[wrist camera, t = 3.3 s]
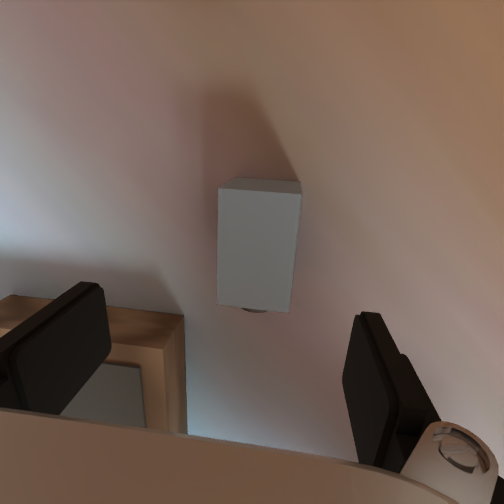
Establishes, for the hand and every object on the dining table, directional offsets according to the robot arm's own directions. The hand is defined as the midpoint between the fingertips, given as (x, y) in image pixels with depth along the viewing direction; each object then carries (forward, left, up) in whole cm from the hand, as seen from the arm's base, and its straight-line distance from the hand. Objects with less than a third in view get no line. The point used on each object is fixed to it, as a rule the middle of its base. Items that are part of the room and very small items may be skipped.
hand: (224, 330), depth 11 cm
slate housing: (0, 0, -15) cm, 15 cm away
